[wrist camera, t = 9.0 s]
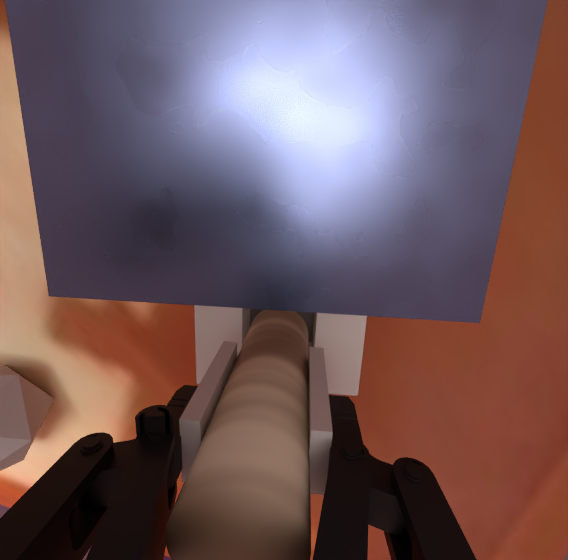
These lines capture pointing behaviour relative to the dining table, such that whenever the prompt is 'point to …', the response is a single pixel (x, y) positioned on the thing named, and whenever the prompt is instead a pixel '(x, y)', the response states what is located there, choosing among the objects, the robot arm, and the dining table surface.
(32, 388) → the die
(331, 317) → the socket block
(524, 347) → the dining table surface
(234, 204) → the slate blue panel
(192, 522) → the peg
